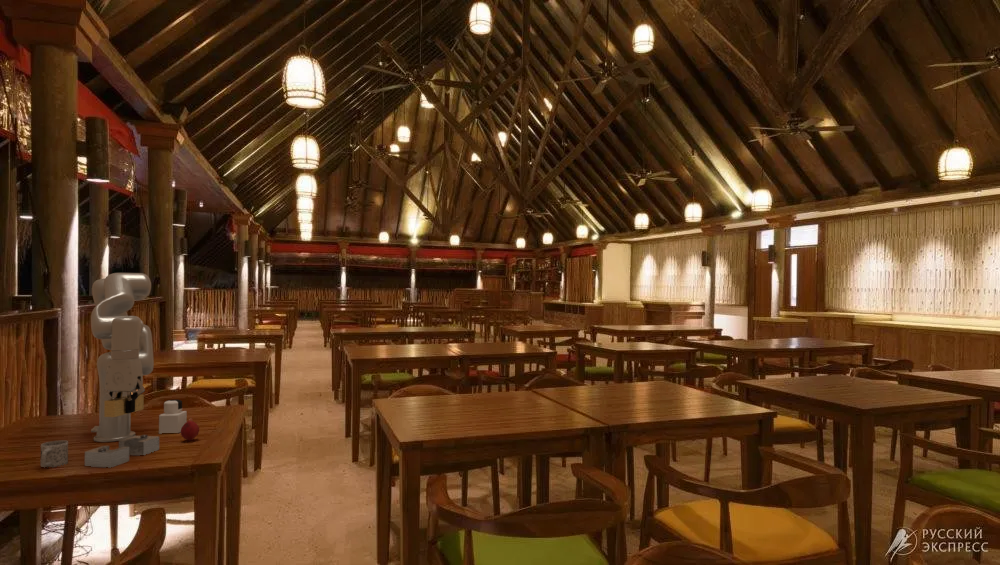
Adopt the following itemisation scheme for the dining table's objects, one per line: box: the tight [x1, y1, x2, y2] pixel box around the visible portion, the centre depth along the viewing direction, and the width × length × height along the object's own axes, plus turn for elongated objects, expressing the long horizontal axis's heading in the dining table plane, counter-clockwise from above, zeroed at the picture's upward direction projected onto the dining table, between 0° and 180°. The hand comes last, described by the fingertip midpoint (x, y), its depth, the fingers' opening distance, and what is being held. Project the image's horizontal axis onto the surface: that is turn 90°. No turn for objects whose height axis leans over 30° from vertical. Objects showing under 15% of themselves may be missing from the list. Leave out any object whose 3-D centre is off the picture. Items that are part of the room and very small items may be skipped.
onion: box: [180, 418, 200, 442], centre depth 204 cm, size 6×6×8 cm
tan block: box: [104, 393, 145, 417], centre depth 183 cm, size 4×12×6 cm, turn 172°
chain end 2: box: [118, 434, 160, 456], centre depth 189 cm, size 9×7×5 cm
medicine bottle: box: [158, 399, 188, 435], centre depth 218 cm, size 7×7×12 cm
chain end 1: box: [84, 445, 130, 469], centre depth 177 cm, size 9×7×5 cm
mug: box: [40, 439, 69, 469], centre depth 174 cm, size 10×7×7 cm, turn 13°
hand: (124, 411), depth 183 cm, fingers closed on tan block, 3 cm apart
